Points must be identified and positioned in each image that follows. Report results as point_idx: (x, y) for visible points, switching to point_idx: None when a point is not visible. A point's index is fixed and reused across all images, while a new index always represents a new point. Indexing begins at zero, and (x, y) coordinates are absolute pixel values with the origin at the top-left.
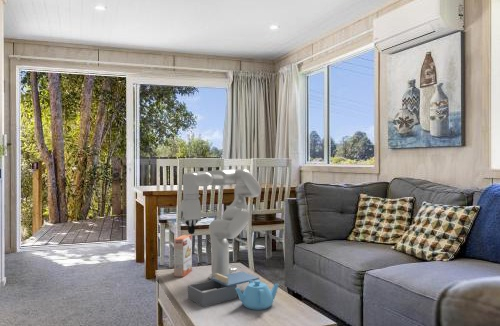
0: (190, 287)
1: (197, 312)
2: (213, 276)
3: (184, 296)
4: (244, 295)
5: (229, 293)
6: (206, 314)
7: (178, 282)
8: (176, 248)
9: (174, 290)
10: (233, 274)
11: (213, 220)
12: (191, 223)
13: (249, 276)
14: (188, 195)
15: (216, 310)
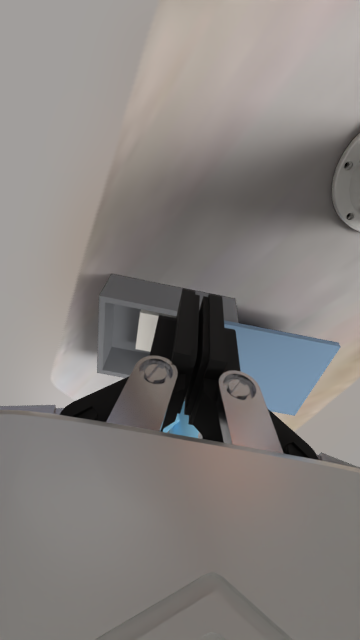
0: (99, 312)
1: (77, 359)
2: (354, 173)
3: (114, 250)
4: (172, 429)
5: None
6: (87, 377)
7: (211, 47)
8: None
9: (122, 158)
10: (285, 348)
11: None
12: (215, 404)
13: (290, 393)
14: None
15: (118, 378)
